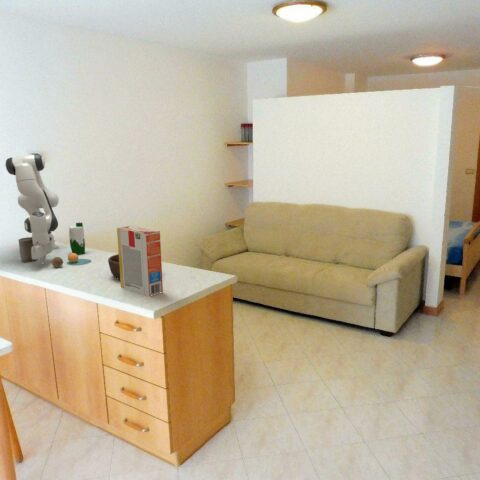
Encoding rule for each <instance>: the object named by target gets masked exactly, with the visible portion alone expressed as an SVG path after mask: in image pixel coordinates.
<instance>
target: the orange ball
mask: <svg viewBox="0 0 480 480" xmlns="http://www.w3.org/2000/svg"><path fill="white" fill-rule="evenodd" d="M78 259H79V255H77V254H75V253H72V252H71V253H70V254H68V257H67V261H68V262H71V263H76V262H77V261H78Z"/></svg>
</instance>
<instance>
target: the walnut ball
mask: <svg viewBox="0 0 480 480" xmlns="http://www.w3.org/2000/svg"><path fill="white" fill-rule="evenodd" d="M63 263H64V261H63V258H62V257H60V256H56V257H53V258H52V260H51V264H52V267H54V268H61V267H62V266H63Z"/></svg>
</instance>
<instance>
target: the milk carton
mask: <svg viewBox="0 0 480 480" xmlns="http://www.w3.org/2000/svg"><path fill="white" fill-rule="evenodd" d="M68 228H69V229H68V230H69V231H68V237H69V246H70V251H71V253H75V254H77V255H78V256H79V255H85V254H86V241H85V231H84V225H83V222H76V223H75V225H71V226H69V227H68Z"/></svg>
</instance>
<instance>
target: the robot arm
mask: <svg viewBox="0 0 480 480" xmlns="http://www.w3.org/2000/svg"><path fill="white" fill-rule="evenodd" d="M45 165H46V162H45V159H44V158H43V155H41V154H40V153H35V154H23V155H18V156H14V157H9V158H8V157H7V159H6V160H5V165H4V166H5V169H6V171H7V173H8V174H10V175H12V176H15V182H16V187H17V190H18V192H19V193H20V194H19V195H18V196H17V204H18V206H19V207H20V208H21V209H23V210H25V212H26V213H27V214H28V215H29V217H27V218H25V220H24V221H23V223H24V231H26V232H27V233H30V234H31V237H32V240H33V247H32V249H31V255H32V259H33V260H37V261H39V262H40V264H41V265H44V264H45V263H47V262H46V259H47V255H48V254H50V253H52V251H53V249H58V248H59V245H57V244H56V240H55V236H54V235H53V234H52V232H55V230H57V229H58V227H59V222H58V218H57V217H56V214H55V213H54V210H53V208H56V207H57V206H58V205H59V202H60V201H59V199H60V198H59V196H58V194H57V193H56V192H55V191H54V192H53V191H51V189H49V188H48V187H47V186H46V185H45V183H44V181H43V179H42V176H41V173H40V172H42V171H43V170H44V169H45ZM41 209H43V211H44V212H42V211H41Z"/></svg>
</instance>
